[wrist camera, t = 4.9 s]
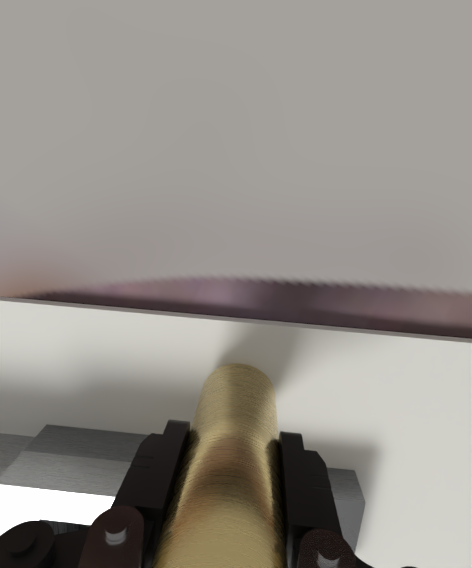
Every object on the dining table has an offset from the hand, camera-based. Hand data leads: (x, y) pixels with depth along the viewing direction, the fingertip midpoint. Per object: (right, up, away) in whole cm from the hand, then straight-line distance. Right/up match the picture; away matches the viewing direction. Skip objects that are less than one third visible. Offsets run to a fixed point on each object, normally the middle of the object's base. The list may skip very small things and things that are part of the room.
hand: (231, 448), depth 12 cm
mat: (-3, -3, +6) cm, 7 cm away
